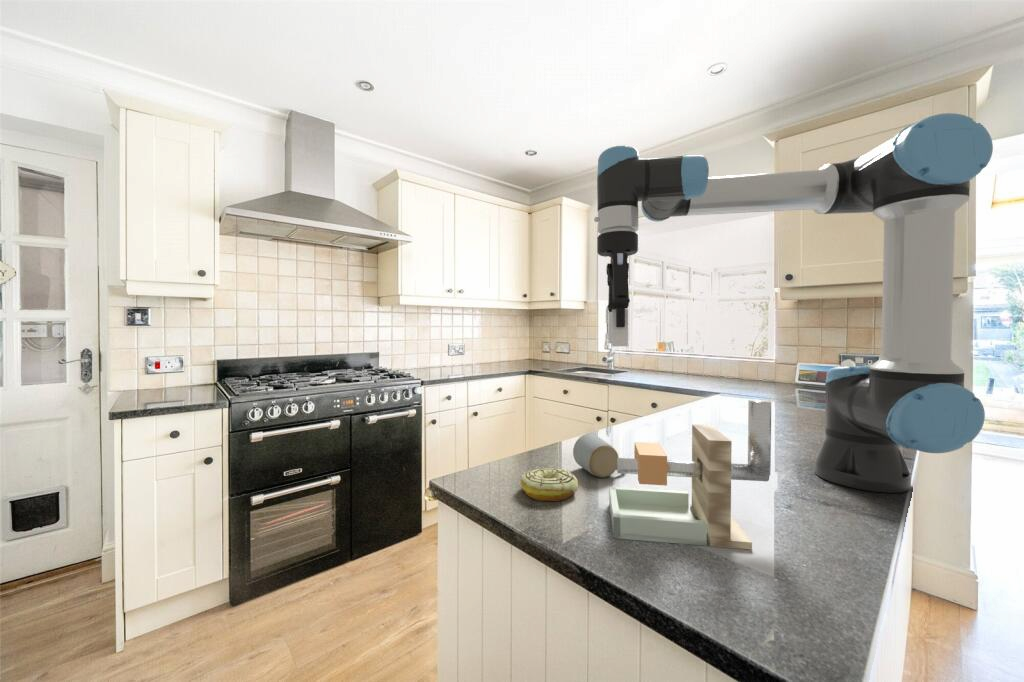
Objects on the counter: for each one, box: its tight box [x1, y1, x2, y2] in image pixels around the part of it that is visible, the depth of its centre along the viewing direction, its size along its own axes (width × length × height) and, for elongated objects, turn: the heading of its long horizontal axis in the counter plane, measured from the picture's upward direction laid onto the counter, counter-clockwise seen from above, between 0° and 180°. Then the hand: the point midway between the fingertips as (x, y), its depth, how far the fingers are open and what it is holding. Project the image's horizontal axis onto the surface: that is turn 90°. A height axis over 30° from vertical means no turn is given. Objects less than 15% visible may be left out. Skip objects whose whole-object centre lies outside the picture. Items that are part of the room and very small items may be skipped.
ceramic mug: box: [572, 433, 620, 478], centre depth 90 cm, size 11×8×8 cm
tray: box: [608, 486, 708, 547], centre depth 67 cm, size 13×12×3 cm
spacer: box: [633, 441, 668, 487], centre depth 67 cm, size 4×7×4 cm, turn 169°
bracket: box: [689, 424, 753, 550], centre depth 65 cm, size 6×12×15 cm, turn 170°
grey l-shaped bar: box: [616, 399, 772, 482], centre depth 65 cm, size 22×3×12 cm, turn 80°
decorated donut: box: [520, 467, 579, 502], centre depth 80 cm, size 10×11×4 cm
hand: (617, 344), depth 80 cm, fingers open, 13 cm apart
